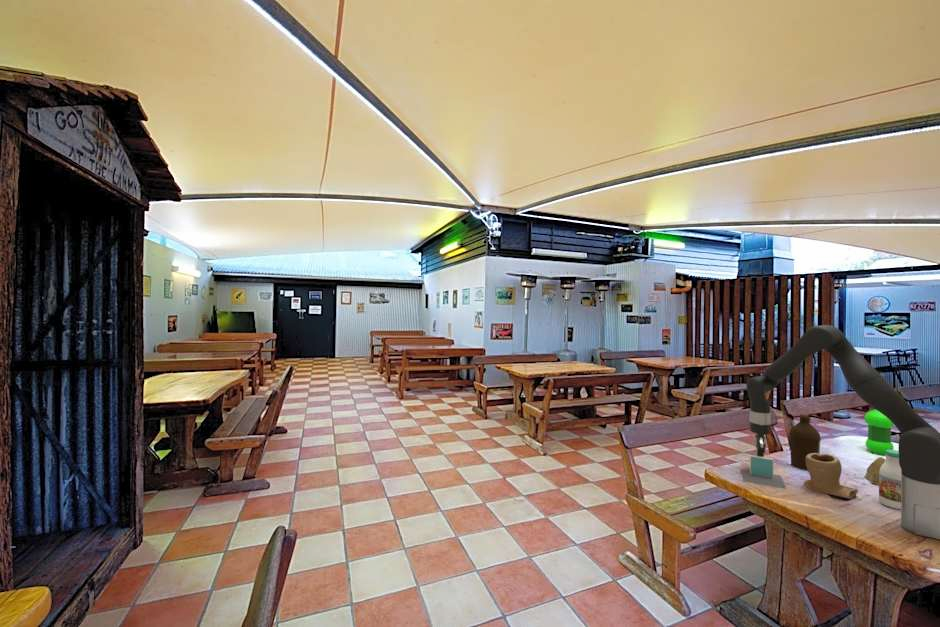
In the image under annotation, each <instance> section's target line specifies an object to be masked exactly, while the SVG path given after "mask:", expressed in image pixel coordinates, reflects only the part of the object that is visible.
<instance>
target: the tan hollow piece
mask: <svg viewBox="0 0 940 627" xmlns="http://www.w3.org/2000/svg"><path fill="white" fill-rule="evenodd" d="M805 461H806V467H807V470H808V471H807V470H806V471H807V472H808V474H809V476H810V479H806V480H805V481H803V485H804V486H805V488H808V489H810V490H814V491H817V492H821V493H824V494H828V495H831V496H835V497H839V498H844V499H849V500H850V499H853V498H855V496H857V493H858V492H859V490H858V488H854V487H850V486H845V485H842V484H841V483H840V478H841V475H842V464H841V461H840V460H839V458H838V457H837V456H834V455H833V454H830V453H820V454H819V453H811V454H808V455H807V456H806V458H805Z"/></svg>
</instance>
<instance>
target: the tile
mask: <svg viewBox="0 0 940 627" xmlns="http://www.w3.org/2000/svg"><path fill="white" fill-rule="evenodd" d="M749 470H750V474H752V475H758V476H763V477H769V478H773V474H774V458H772V457H765V456H764V457H761V456H757V455H753V454H749Z"/></svg>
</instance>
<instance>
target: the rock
mask: <svg viewBox="0 0 940 627" xmlns="http://www.w3.org/2000/svg"><path fill="white" fill-rule="evenodd" d="M885 460H886V458H884V457H880V456H879V457H877V458H876V459H874V461H873V462H871V463H870V464H869V465H868V467H867V468H866V473H865V476H864V477H865V479H867V480H868V481H869V482H870V483H871V484H873V485H877V486H879V471H880V468H881V466H882V465H883V463H884V462H885Z"/></svg>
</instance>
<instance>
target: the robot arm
mask: <svg viewBox="0 0 940 627" xmlns="http://www.w3.org/2000/svg"><path fill="white" fill-rule="evenodd" d="M823 350H825V351H826V353H828V354H829V355H830V356H831V357H832V358H833V359H834V360H835V361H836V363H837V364H838V366H839V367H840V370H841V372H842V374H843V376H844V379H845V381H846V382H847V384H848V385H849V387H850V388H851V389H852V390H853V391H854V392H855V393H856V395H857V396H859V397H860V399H862V400H863V401H864V403H866V404H867V405H869V406H870V407H872V408H873V410H874V409H876V410H877V411H879V412H880V413H882V414H883V415H885V416H886V417H887V418H888V419H889V420H890V421H891V422H892V423H893V424H894V426H895V427H896V428H897V429H898V431H899V432H900V433H901V434H900V437H899V440H898V451H899V465H900V467H901V509H900V526H902V527H903V529H905V530H908V531H909V532H911V533H913V534H914V535H918V536H922V537H928V538H930V539H931V538H933V539H937V540H940V431H938V430H937V429H936V428H935V427H933V425H931V424H930V423H929V422H927V421H926V420H925V419H924V418H923V417H922V416H921V415H919V413H917V411H916V410H914V409H913V408H912V406H910V404H909V403H908V402H907V401H906V400H905V399H904V398H903V397H902V396H901V394H900V393H899V392H897V390H896V389H895V388H894V386H892V384H891V383H889V381H888V380H887V379H886V378H884V376H882V374H881V373H879V371H877V369H876V368H875V367H874V366H873V365H871V364H870V363H869V361H867V359H865V358H864V357H863V356H862V354H860V353H859V352H858V351H857V349H855V347H854V346H853V345H852V343H851V342H850V341H849V339H848V338H847V337H846V335H845V334H844V333H843V332H842V331H841V330H840V329H839V328H837V327H836V326H834V325H830V324H822V325H813V326H811V327H810V328H808V329H807V330H806V331H805V332H804V333H803V334H802V336H801V337H800V338H799V339H798V340H797V341H796V342H795V343H794V344H793V346H791V347H790V348H789V349H788V350H787V351H786V352H784V353H783V354H782V355H781V356H780V357H778V358H777V359H775V361H773V362H772V363H771V364H769V365H768V366H767V367H765V369H764V373H762V374H761V375H759V376H752V377H749V378H748V379H747V381H746V391H747V395H748V398H749V400H750V402H749V403H750V405H749V408H750V409H749V410H750V412H749V431H750V432H751V433H753V434H754V435H753V438H754V445H755V448H756V456H761V457H765V456H764V455H765V452H766V447H767V446H766V443H767V438H766V435H768V436H769V435H771V433H772V416H771V401H770V400H769V399H768V398H766V395H765V393H767V392H770V391H772V390H774V389H775V388H776V387H777V386H778V385H779V384H780V383H781V381H782V380H783V379H786V378H787V377H788V376H789V375H791V374H792V373H793V372H795V371H796V370H797V369H798V368H799V366H800V365H801V364H802V363H803V362H804V361H805V360H806V359H808V358H809V357H811V356H812V355H814V354H816V353H818V352H820V351H823Z"/></svg>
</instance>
